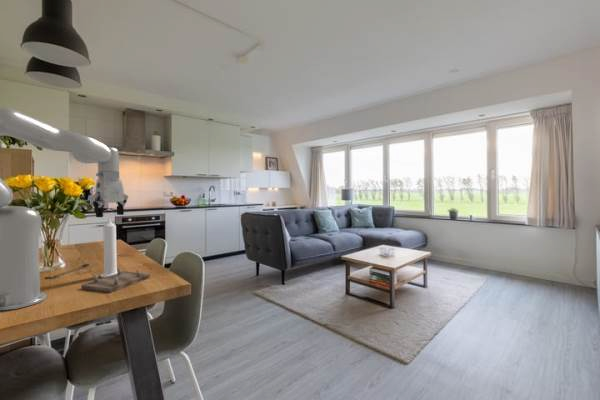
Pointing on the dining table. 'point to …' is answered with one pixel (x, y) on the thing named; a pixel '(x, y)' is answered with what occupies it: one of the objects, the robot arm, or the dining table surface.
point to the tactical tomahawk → (66, 272)
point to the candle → (109, 249)
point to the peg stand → (115, 281)
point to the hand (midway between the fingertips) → (110, 215)
